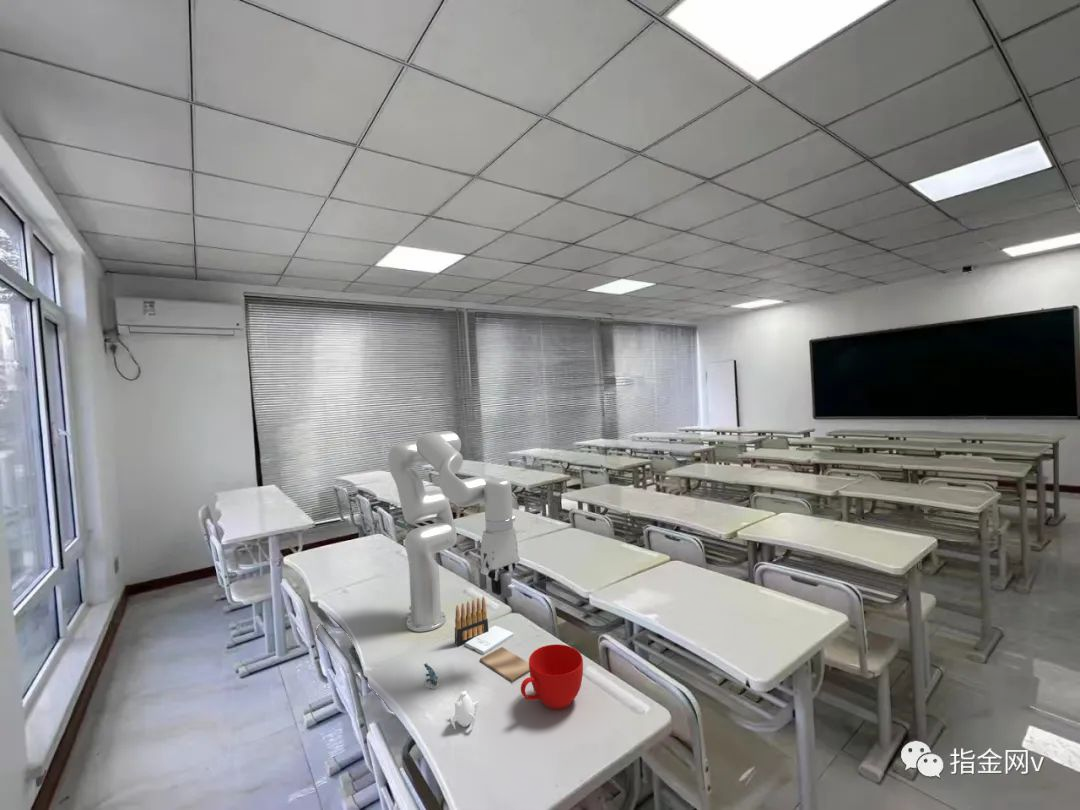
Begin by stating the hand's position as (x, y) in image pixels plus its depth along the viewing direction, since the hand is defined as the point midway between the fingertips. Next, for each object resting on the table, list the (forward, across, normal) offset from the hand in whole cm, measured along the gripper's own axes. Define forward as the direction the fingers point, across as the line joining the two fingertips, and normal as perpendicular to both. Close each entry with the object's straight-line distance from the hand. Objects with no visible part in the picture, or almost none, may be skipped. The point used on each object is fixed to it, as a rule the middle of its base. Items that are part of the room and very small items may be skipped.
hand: (501, 590), depth 123 cm
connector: (+1, 0, 0) cm, 1 cm away
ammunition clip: (+20, -1, -17) cm, 27 cm away
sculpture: (+21, +19, -7) cm, 29 cm away
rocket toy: (+20, +21, +12) cm, 31 cm away
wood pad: (+20, 0, +1) cm, 20 cm away
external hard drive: (+21, -4, -12) cm, 25 cm away
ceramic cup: (+20, +3, +21) cm, 30 cm away
